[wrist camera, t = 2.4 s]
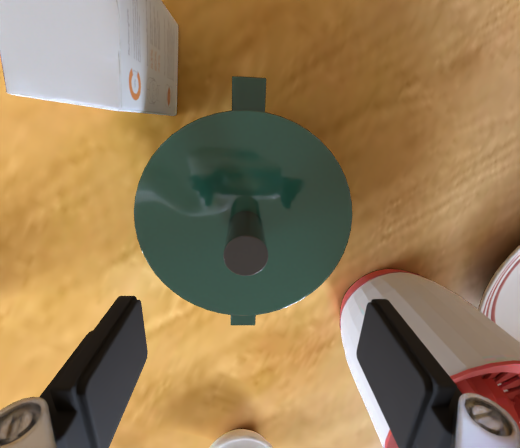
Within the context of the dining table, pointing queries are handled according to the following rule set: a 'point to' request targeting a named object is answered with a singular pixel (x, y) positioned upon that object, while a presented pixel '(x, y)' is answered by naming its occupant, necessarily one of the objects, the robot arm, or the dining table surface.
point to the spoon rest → (241, 440)
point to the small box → (91, 53)
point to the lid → (243, 212)
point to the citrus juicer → (435, 340)
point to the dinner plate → (504, 296)
